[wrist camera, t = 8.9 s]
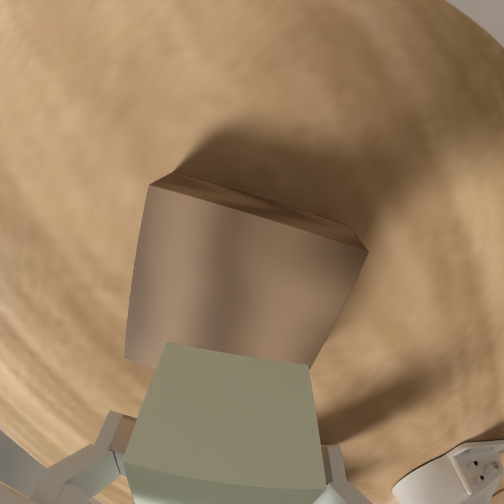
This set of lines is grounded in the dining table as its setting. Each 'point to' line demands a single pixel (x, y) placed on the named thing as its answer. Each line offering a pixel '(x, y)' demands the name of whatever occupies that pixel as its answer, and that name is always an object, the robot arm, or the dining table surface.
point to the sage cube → (225, 432)
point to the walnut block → (236, 274)
